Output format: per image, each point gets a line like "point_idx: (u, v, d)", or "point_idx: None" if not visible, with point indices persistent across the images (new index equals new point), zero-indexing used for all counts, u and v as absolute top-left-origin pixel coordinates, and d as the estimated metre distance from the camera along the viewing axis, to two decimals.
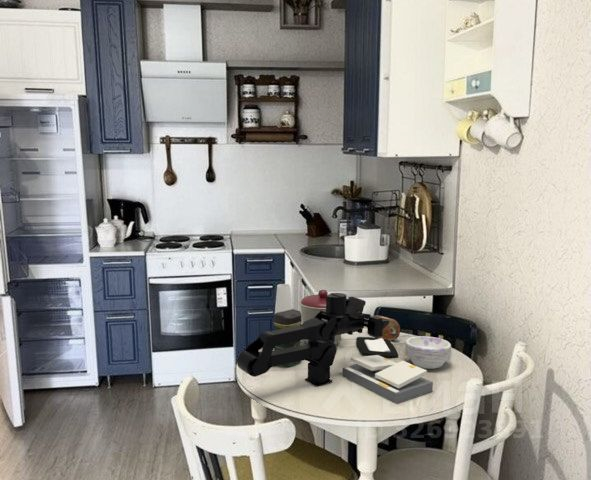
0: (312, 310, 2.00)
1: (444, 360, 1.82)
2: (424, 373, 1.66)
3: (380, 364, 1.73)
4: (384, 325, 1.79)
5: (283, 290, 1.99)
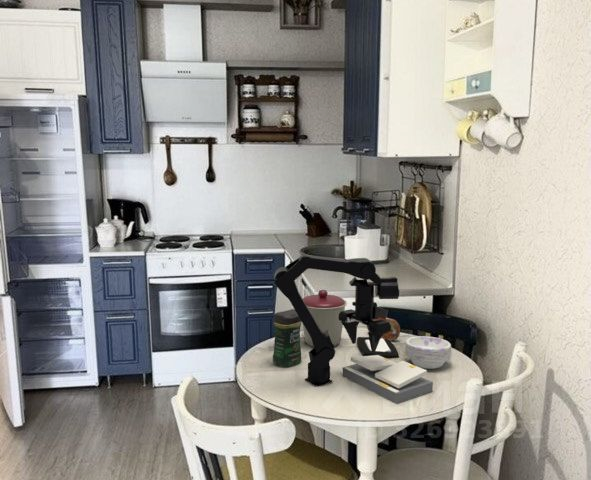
0: (312, 310, 2.00)
1: (444, 360, 1.82)
2: (424, 373, 1.66)
3: (380, 364, 1.73)
4: (374, 343, 1.68)
5: None
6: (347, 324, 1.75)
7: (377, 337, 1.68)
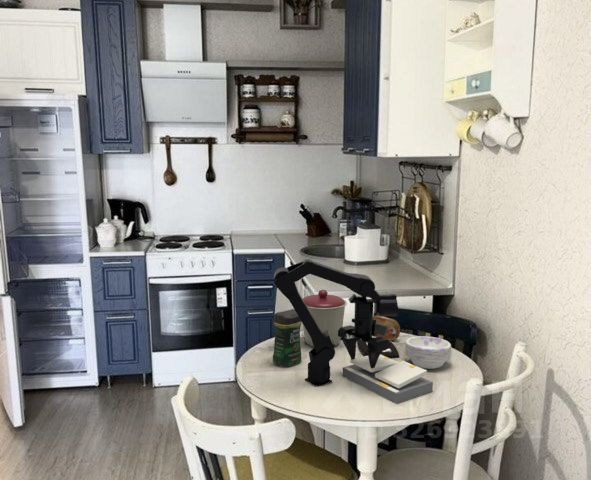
0: (312, 310, 2.00)
1: (444, 360, 1.82)
2: (424, 373, 1.66)
3: (380, 364, 1.73)
4: (373, 360, 1.68)
5: None
6: (346, 340, 1.76)
7: (376, 354, 1.69)
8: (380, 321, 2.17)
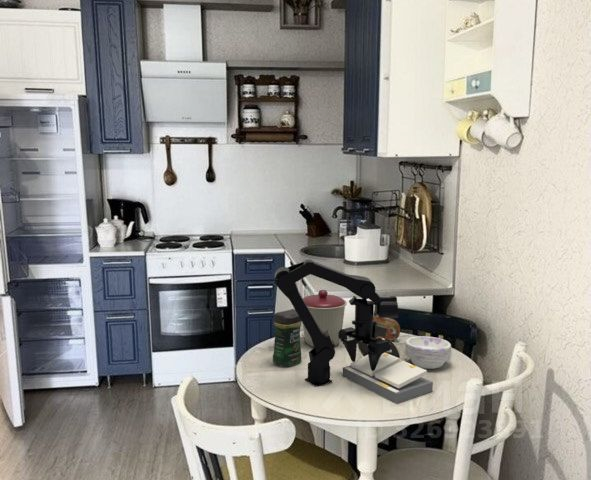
0: (312, 310, 2.00)
1: (444, 360, 1.82)
2: (424, 373, 1.66)
3: (380, 365, 1.73)
4: (374, 362, 1.69)
5: None
6: (347, 342, 1.76)
7: (377, 356, 1.69)
8: (380, 321, 2.17)
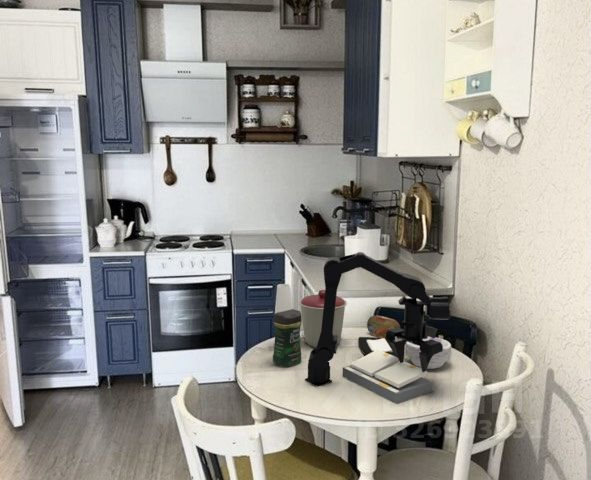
0: (312, 310, 2.00)
1: (444, 360, 1.82)
2: (424, 373, 1.66)
3: (380, 365, 1.73)
4: (425, 364, 1.65)
5: (283, 290, 1.99)
6: (395, 343, 1.72)
7: (428, 357, 1.65)
8: (380, 321, 2.17)
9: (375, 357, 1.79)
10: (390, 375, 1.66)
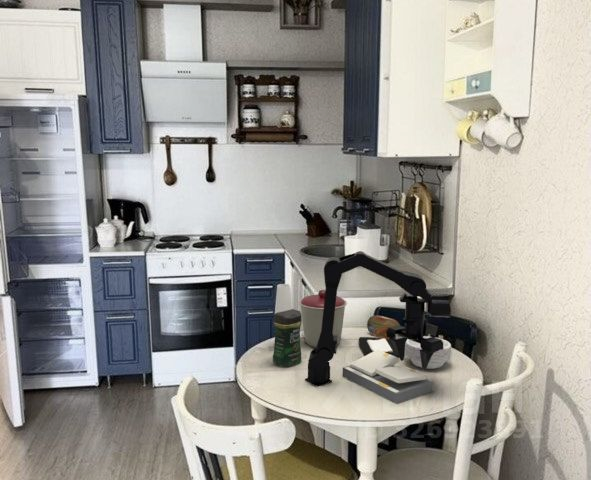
0: (312, 310, 2.00)
1: (444, 360, 1.82)
2: (424, 377, 1.66)
3: (380, 365, 1.73)
4: (426, 361, 1.65)
5: (283, 290, 1.99)
6: (396, 341, 1.72)
7: (428, 355, 1.65)
8: (380, 321, 2.17)
9: (375, 357, 1.79)
10: (390, 372, 1.66)
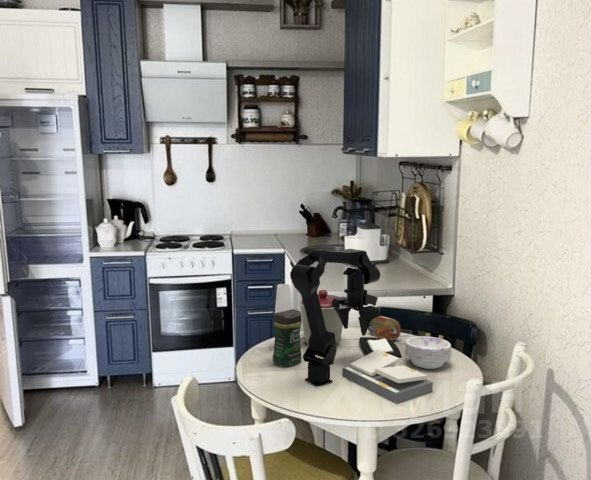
0: None
1: (444, 360, 1.82)
2: (424, 377, 1.66)
3: (380, 365, 1.73)
4: (364, 327, 1.80)
5: (283, 290, 1.99)
6: (339, 310, 1.88)
7: (367, 322, 1.80)
8: (380, 321, 2.17)
9: (375, 357, 1.79)
10: (390, 372, 1.66)
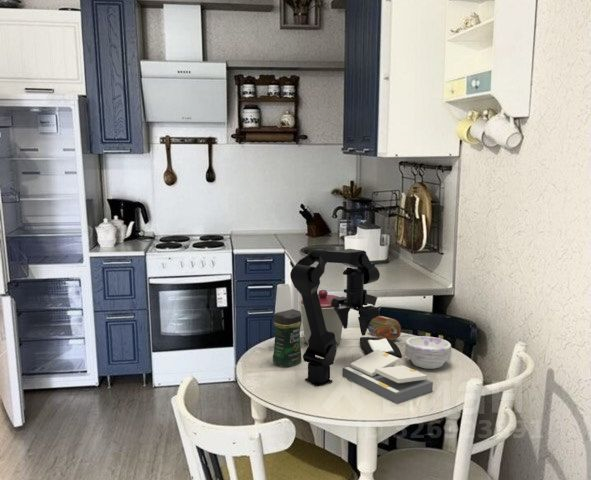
0: None
1: (444, 360, 1.82)
2: (424, 377, 1.66)
3: (380, 365, 1.73)
4: (364, 327, 1.80)
5: (283, 290, 1.99)
6: (339, 310, 1.88)
7: (366, 322, 1.81)
8: (380, 321, 2.17)
9: (375, 357, 1.79)
10: (390, 372, 1.66)
